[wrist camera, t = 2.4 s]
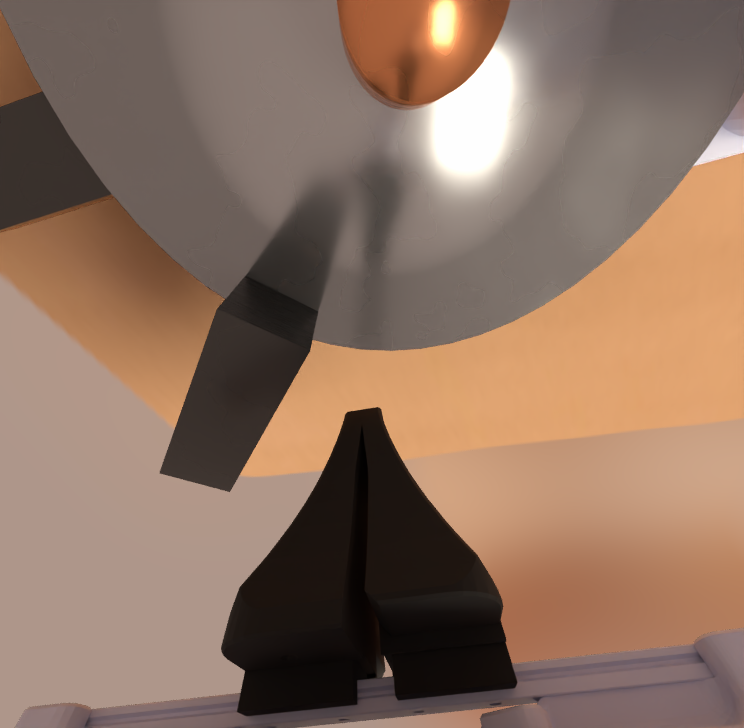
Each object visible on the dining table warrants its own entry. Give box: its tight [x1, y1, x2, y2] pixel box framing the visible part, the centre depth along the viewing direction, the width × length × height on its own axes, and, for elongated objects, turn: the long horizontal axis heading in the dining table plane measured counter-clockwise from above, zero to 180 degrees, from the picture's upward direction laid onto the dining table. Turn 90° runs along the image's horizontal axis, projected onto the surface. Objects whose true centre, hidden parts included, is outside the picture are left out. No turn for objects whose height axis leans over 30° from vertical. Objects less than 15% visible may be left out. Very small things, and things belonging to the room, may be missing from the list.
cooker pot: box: [0, 92, 114, 232], centre depth 10 cm, size 22×16×5 cm
